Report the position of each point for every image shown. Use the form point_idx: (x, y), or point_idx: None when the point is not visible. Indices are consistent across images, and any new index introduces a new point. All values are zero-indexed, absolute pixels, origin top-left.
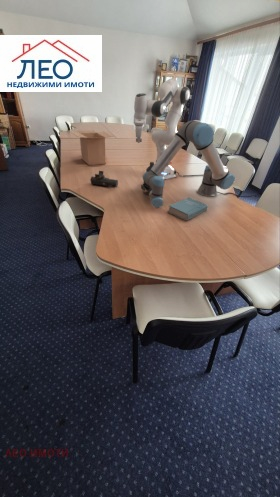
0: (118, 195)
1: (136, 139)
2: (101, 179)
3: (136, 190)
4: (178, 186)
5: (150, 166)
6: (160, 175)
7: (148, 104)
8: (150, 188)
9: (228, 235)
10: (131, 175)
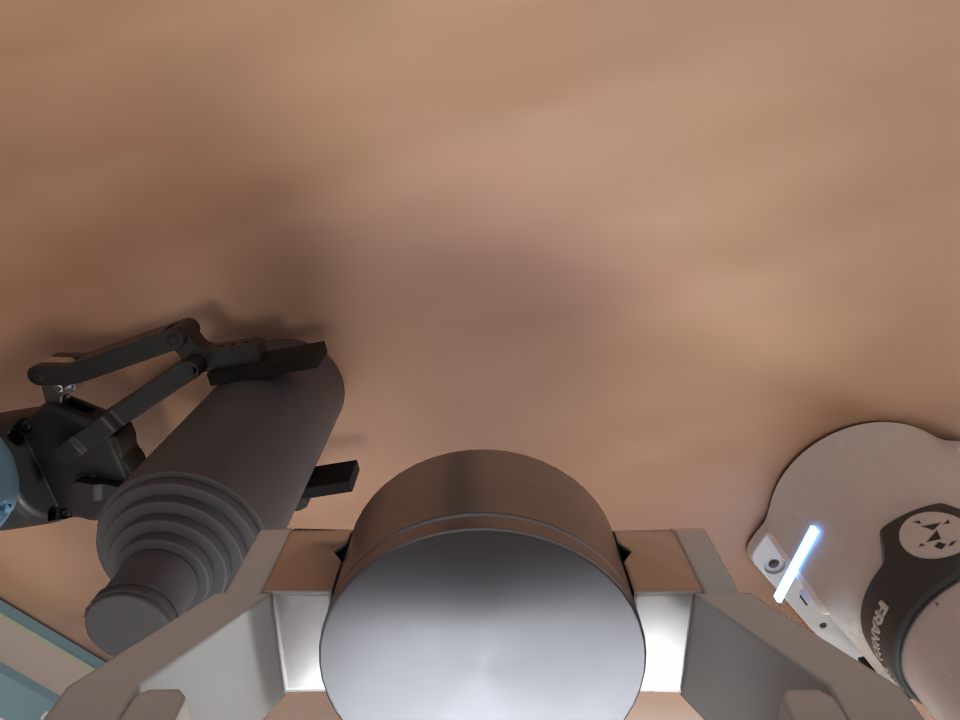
0: (89, 24)
1: (382, 537)
2: None
3: (322, 241)
4: None
5: (123, 563)
6: (793, 518)
7: None
8: (56, 447)
9: None
10: (880, 127)
